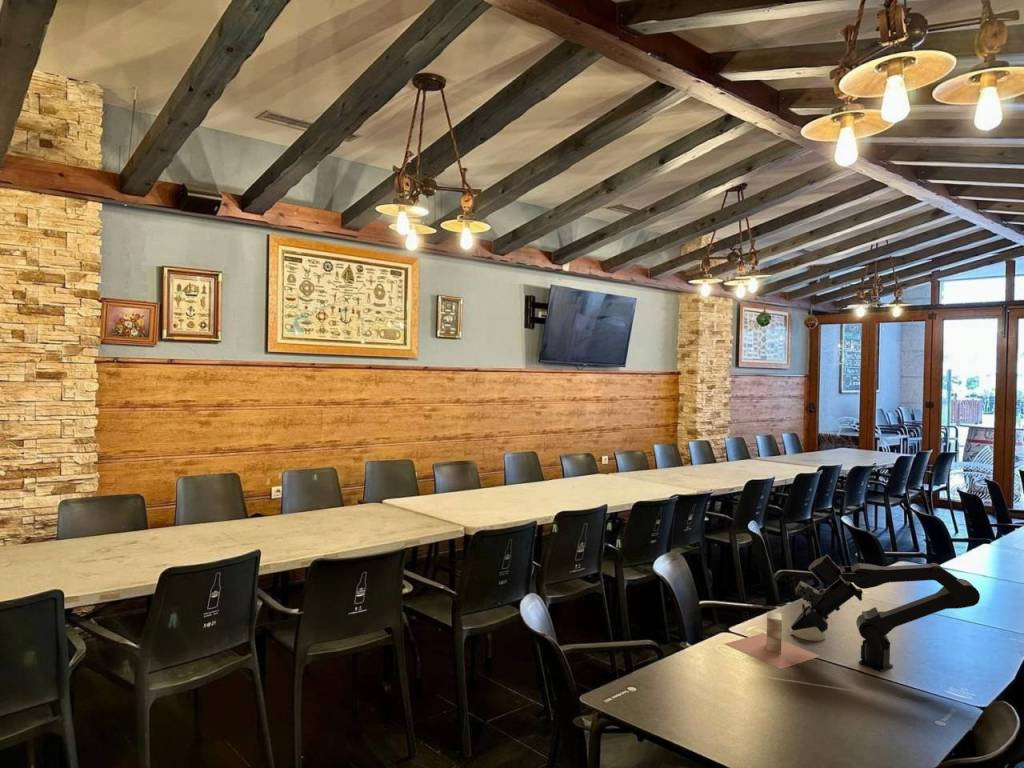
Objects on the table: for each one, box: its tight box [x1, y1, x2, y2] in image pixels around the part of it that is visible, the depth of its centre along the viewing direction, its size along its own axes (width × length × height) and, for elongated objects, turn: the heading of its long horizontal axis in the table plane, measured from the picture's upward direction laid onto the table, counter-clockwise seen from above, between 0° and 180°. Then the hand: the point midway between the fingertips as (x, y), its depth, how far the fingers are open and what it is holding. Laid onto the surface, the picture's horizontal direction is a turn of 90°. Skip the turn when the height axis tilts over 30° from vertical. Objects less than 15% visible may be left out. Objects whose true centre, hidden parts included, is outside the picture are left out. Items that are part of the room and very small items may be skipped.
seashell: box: [790, 627, 826, 642], centre depth 213 cm, size 8×8×8 cm
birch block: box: [766, 611, 783, 654], centre depth 203 cm, size 4×6×10 cm, turn 160°
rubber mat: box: [724, 632, 821, 670], centre depth 202 cm, size 20×18×1 cm
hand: (792, 628), depth 201 cm, fingers closed
